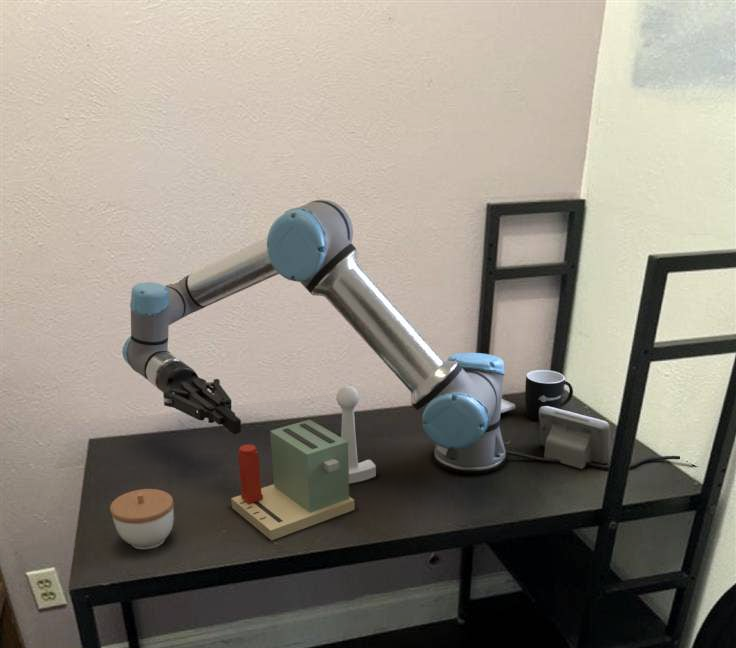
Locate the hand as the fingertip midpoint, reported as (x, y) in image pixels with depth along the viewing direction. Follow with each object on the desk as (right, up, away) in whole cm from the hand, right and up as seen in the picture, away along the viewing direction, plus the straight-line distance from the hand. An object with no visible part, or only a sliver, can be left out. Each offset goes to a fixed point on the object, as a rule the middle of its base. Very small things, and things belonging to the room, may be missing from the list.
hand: (237, 427), depth 147 cm
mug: (+68, +7, +42) cm, 80 cm away
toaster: (+10, -16, +3) cm, 19 cm away
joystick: (+20, -9, +16) cm, 27 cm away
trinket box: (-15, -21, -6) cm, 27 cm away
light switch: (+54, +8, +43) cm, 69 cm away
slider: (+3, -14, +2) cm, 14 cm away
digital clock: (+69, -4, +22) cm, 72 cm away
